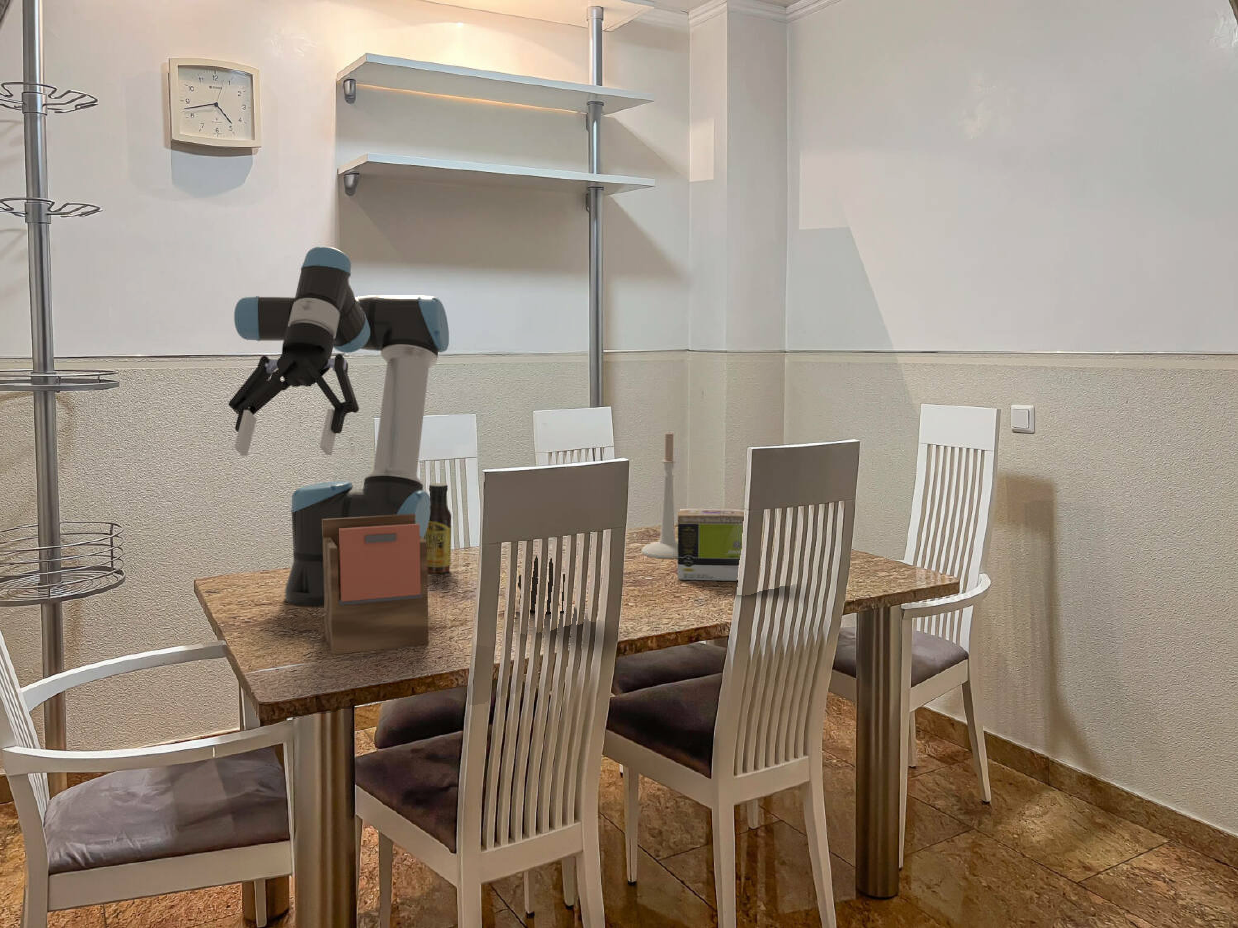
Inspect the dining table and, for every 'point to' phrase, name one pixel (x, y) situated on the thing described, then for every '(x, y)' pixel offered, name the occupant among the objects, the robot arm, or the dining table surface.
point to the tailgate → (379, 563)
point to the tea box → (709, 543)
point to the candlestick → (666, 511)
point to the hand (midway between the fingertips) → (282, 451)
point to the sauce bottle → (438, 531)
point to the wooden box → (370, 620)
